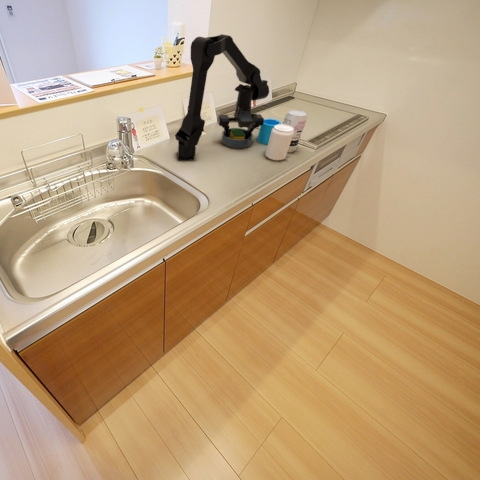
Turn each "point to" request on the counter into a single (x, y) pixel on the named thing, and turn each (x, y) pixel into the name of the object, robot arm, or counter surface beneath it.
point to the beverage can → (279, 142)
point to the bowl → (234, 142)
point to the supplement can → (295, 126)
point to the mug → (266, 130)
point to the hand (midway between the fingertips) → (236, 139)
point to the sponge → (237, 134)
